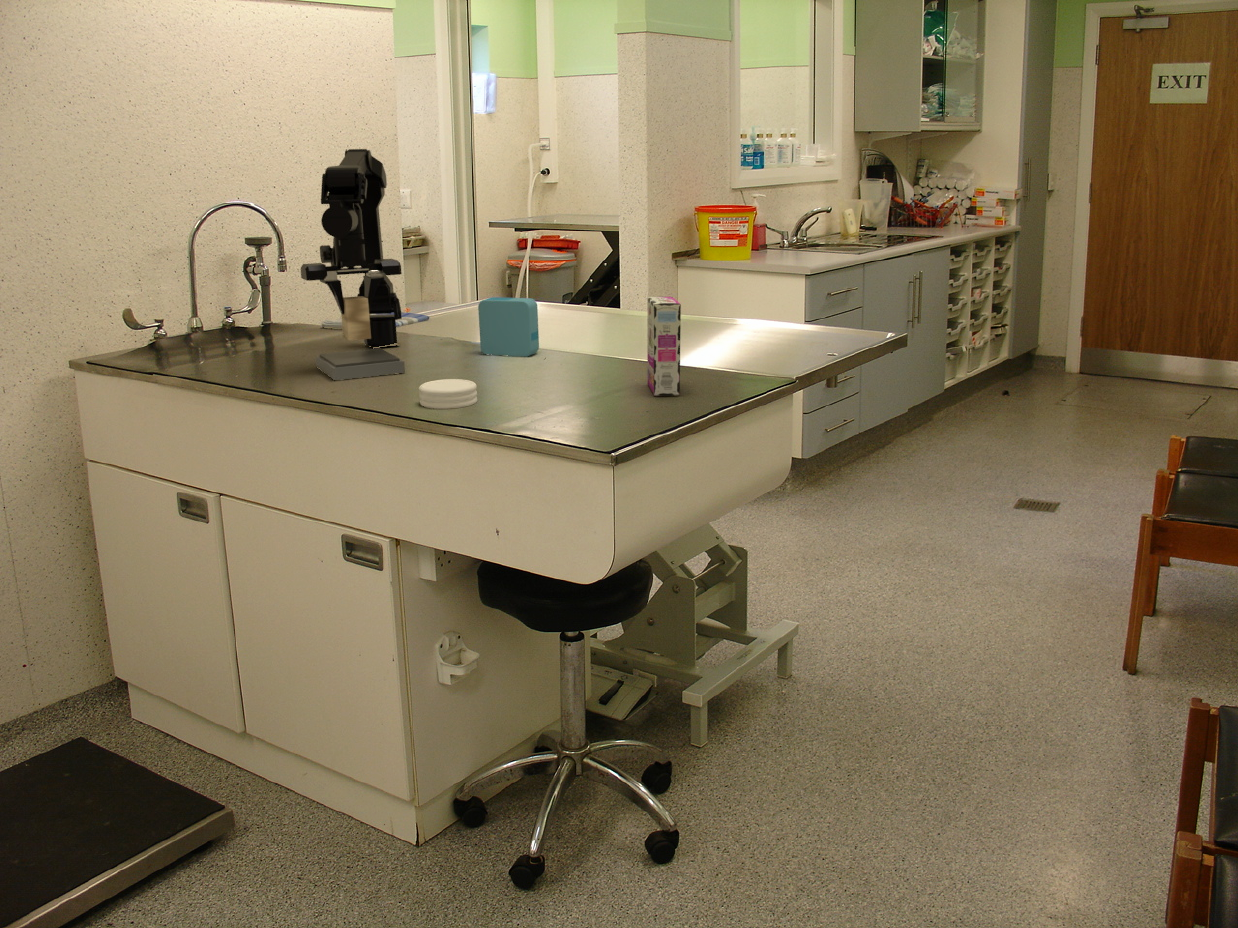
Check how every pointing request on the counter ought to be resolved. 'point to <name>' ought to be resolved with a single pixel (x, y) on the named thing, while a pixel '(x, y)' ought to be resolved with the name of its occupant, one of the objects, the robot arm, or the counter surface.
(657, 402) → the counter surface
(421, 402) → the coaster
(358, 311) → the oak block
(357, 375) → the plate
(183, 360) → the counter surface
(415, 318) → the dish towel
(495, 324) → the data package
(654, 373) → the candy bar box
